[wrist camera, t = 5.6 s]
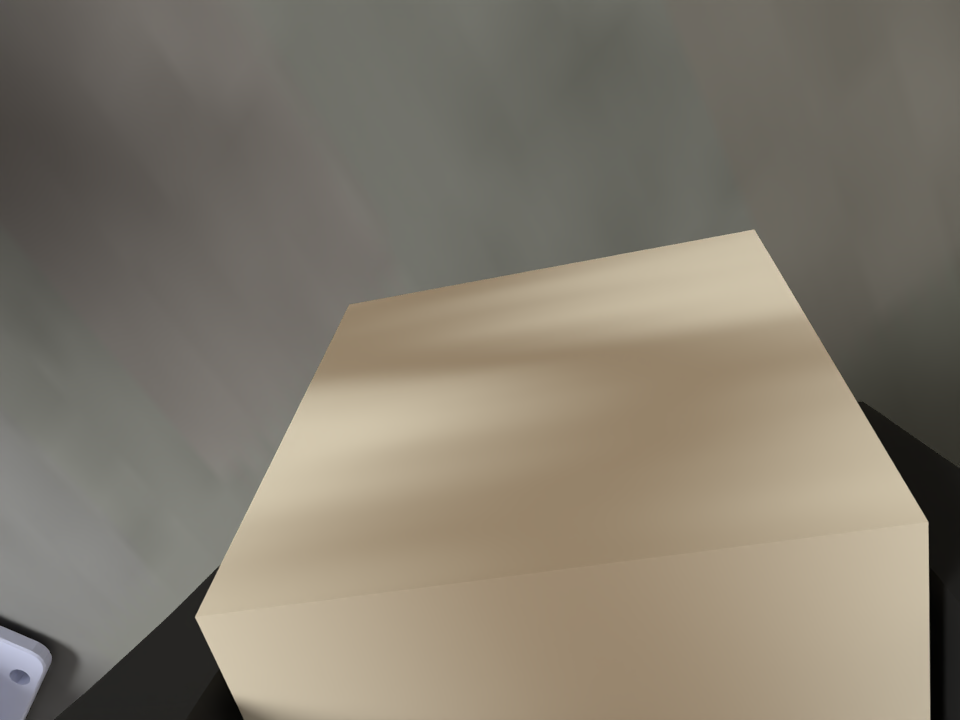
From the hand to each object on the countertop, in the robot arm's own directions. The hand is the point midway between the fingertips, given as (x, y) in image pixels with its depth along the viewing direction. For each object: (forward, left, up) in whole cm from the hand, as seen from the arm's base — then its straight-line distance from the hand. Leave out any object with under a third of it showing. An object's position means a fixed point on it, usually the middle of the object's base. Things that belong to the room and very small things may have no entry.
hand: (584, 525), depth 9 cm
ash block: (0, 0, -2) cm, 2 cm away
